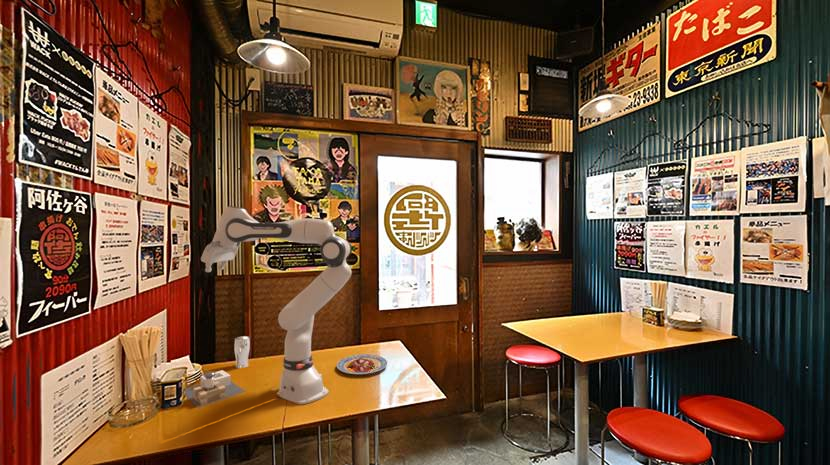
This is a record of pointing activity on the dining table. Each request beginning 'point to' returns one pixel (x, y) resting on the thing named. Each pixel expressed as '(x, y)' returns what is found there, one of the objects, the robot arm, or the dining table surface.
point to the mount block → (209, 393)
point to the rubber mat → (230, 391)
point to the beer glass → (242, 351)
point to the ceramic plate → (361, 364)
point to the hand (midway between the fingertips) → (214, 270)
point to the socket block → (219, 378)
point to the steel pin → (209, 380)
